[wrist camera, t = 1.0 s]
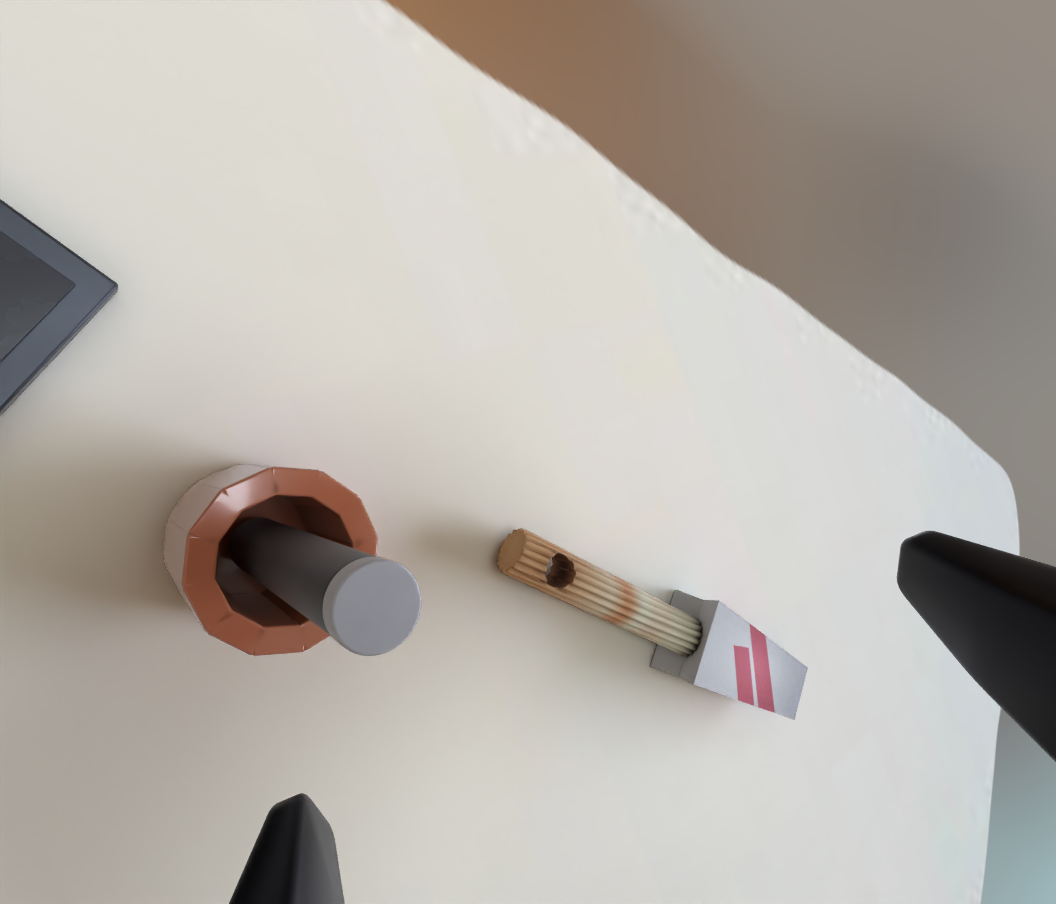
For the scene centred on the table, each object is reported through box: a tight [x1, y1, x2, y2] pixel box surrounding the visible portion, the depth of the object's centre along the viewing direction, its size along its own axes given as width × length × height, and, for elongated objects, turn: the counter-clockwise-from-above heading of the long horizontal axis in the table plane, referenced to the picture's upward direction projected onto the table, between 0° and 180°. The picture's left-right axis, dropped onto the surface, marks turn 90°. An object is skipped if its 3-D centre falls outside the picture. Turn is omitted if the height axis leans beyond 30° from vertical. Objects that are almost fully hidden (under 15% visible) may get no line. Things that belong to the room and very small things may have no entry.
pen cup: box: [163, 465, 378, 656], centre depth 18 cm, size 5×5×5 cm
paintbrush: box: [497, 528, 808, 719], centre depth 29 cm, size 4×3×20 cm
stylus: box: [229, 518, 421, 656], centre depth 15 cm, size 2×2×10 cm
